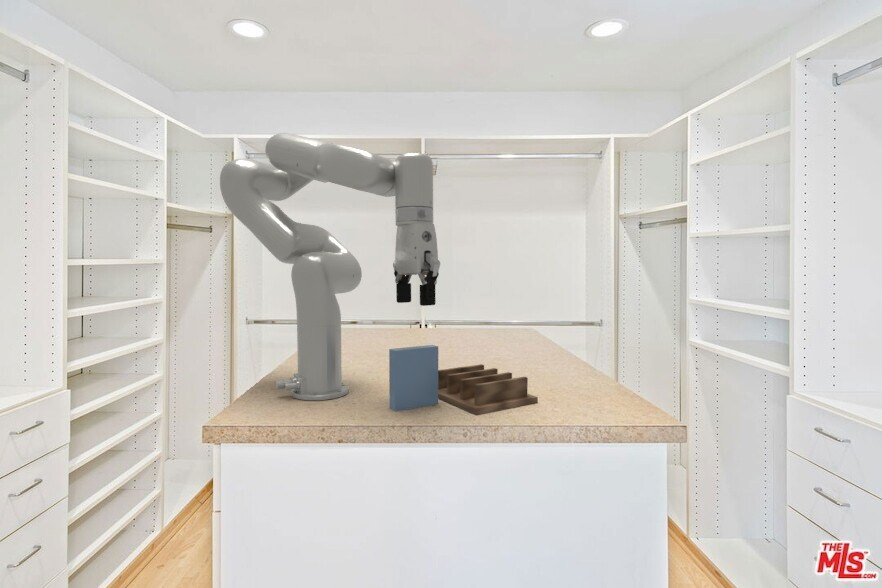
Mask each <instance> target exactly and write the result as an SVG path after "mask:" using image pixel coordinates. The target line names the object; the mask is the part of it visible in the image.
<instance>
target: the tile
mask: <svg viewBox="0 0 882 588" xmlns="http://www.w3.org/2000/svg"><path fill="white" fill-rule="evenodd" d="M388 354H389V355H388V357H389V358H388V359H389V361H388V363H389V364H388V367H389V369H388V370H389V384H388V385H389V391H388V392H389V393H388V394H389V410H392V412H399V411H400V412H401V411H405V410H410V409H418V408H423V407H428V406H434V405H439V399H438V370H439V346H438V345H434V344H427V345H417V346H407V347H406V346H405V347H397V348H396V347H395V348H389V352H388Z"/></svg>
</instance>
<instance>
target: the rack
mask: <svg viewBox="0 0 882 588" xmlns="http://www.w3.org/2000/svg"><path fill="white" fill-rule="evenodd" d="M528 379H529V378H528V377H527V376H521V377H520V376H519V377H513V373H512V372H509V371H508V372H502V373H498V368H497V367H494V368H486V369H485V364H483V363H482V364H481V363H480V364H475V365H467V366H459V367H452V368H444V369H438V400H441V401H443V402H445V403H448V404H449V405H452V406H454V407H456V408H459V409H461V410H463V411H465V412H467V413H470V414H472V415H475V416H478V415H482V414H488V413H492V412H498V411H503V410H507V409H512V408H518V407H522V406H523V407H524V406H528V405H533V404H538V402H539V401H538V399H539V397H538V396H536V395H532V394H529V393H528V381H529V380H528Z"/></svg>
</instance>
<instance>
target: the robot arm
mask: <svg viewBox="0 0 882 588" xmlns="http://www.w3.org/2000/svg"><path fill="white" fill-rule="evenodd" d="M264 148H265V156H266V159H267V160H268V162H269V163H267V162H261V161H257V160H254V159H248V158H237V159H232V160H230V161H228V162H227V163H226V164H224V165H223V167H222V168H221V171H220V175H219V186H220V192H221V196H222V200H223V201H224V203H225V205H226V207H227V208H228V210H229V211H230V212H231V214H232V215H233V216H234V217H235V218H236V219H238V220H239V222H240V223H241V224H242V225H244V226H245V227H246V228H247V229H248V230H249V231H250V232H251V233H252V234H253V235H254V236H255V237H256V238H257V240H258V241H259V242H260V244H262V245H263V246H264V247H265V248H266V249H267V250H268V252H270V254H271V255H272V256H274V258H276V260H278V261H279V262H281V263H283V264H289V265H292V268H291V275H290V276H291V283H292V288H293V293H294V298H295V305H296V306H295V307H296V332H297V333H296V343H297V346H296V347H297V349H296V350H297V373H293V377H292V376H291V377H290V378H289V379H280V380H275V382H274V384H275V386H274V387H275V390H282V389H284V391H287V390H290V396H291V397H292V398H293V399H297V400H299V401H300V400H301V401H328V400H334V399H339V398H341V397H344V396H346V395H347V394H349V390H350V388H349V386H348V385H347V384H345V383H342V373H343V371H342V370H343V369H342V315H341V314H342V313H341V309H340V304H339V301H338V299H337V296H336V294H346V293H349V292H352V291H354V290H355V289H356V288H357V287H359V285H360V283H361V281H362V276H363V274H362V272H363V271H362V268H361V265H360V263H359V261H358V260H357V258H356V257H355V256H354V255H353V254H352V252H350V251H349V250H348V249H347V248H346V247H345V246H344V245H343V244H342V243H341V242H340V241H339V240H338V239H337V238H336V237H335V236H333V234H332V233H330V232H329V231H328V230H326V229H325V228H323V227H320V226H319V225H314V224H310V223H309V224H308V223H301V222H297V221H295V220H293V219H292V218H291V217H289V216H288V215H287V214H286V213H285V212H284V210H282V209H281V208H280V207H279V206H278V205H277V204H275V203H274V202H278V201H280V202H281V201H285V200H287V199H289V198H291V197H292V196H294V195H295V194H296V193H298V192H299V191H301V190H302V189H303V188H305V187H306V186H307V185H308V184H310V183H311V182H312V181H318V182H321V183H324V184H325V183H331V184H334V185H338V186H341V187H342V186H343V187H346V188H350V189H353V190H357V191H361V192H364V193H369V194H373V195H376V196H380V197H388V198H389V197H391V198H392V197H394V200H395V203H394V204H395V205H394V206H395V212H394V213H395V226H397V227H396V236H395V251H394V253H395V254H394V256H395V260H394V261H393V262H392V266H393V270H394V271H393V274H394V277H395V280H394V283H396V288H395V289H396V291H395V292H396V303H398V304H401V303H411V302H412V283H411V282H410V281H411V278H412V275H414V276H415V275H418V278H419V280H420V283H421V284H419V305H420V306H421V307H422V306H423V307H424V306H435V305H436V285H437V283H438V277H439V270H440V267H441V261H440V260H439V254H438V253H439V252H438V239H437V233H436V227H435V224H434V164H433V163H434V162H433V160H432V158H431V157H430V156H429V155H428V154H424V153H421V152H420V153H419V152H407V153H402V154H400V155H398V156H397V157H396V159H395V160H394V159H390V158H386V157H384V156H381V155H379V154H375V153H372V152H369V151H368V150H367V151H366V150H362V149H357V148H355V147H354V148H353V147H350V146H346V145H345V146H344V145H341V144H337V143H336V144H335V143H333V142H329V141H325V140H324V141H323V140H320V139H315V138H311V137H308V136H302V135H297V134H294V133H288V132H279V133H276V134H274V135H273V136H271V137H270V138H269V139H268V140H267V142H266V144H265V147H264ZM272 201H273V202H272Z"/></svg>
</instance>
